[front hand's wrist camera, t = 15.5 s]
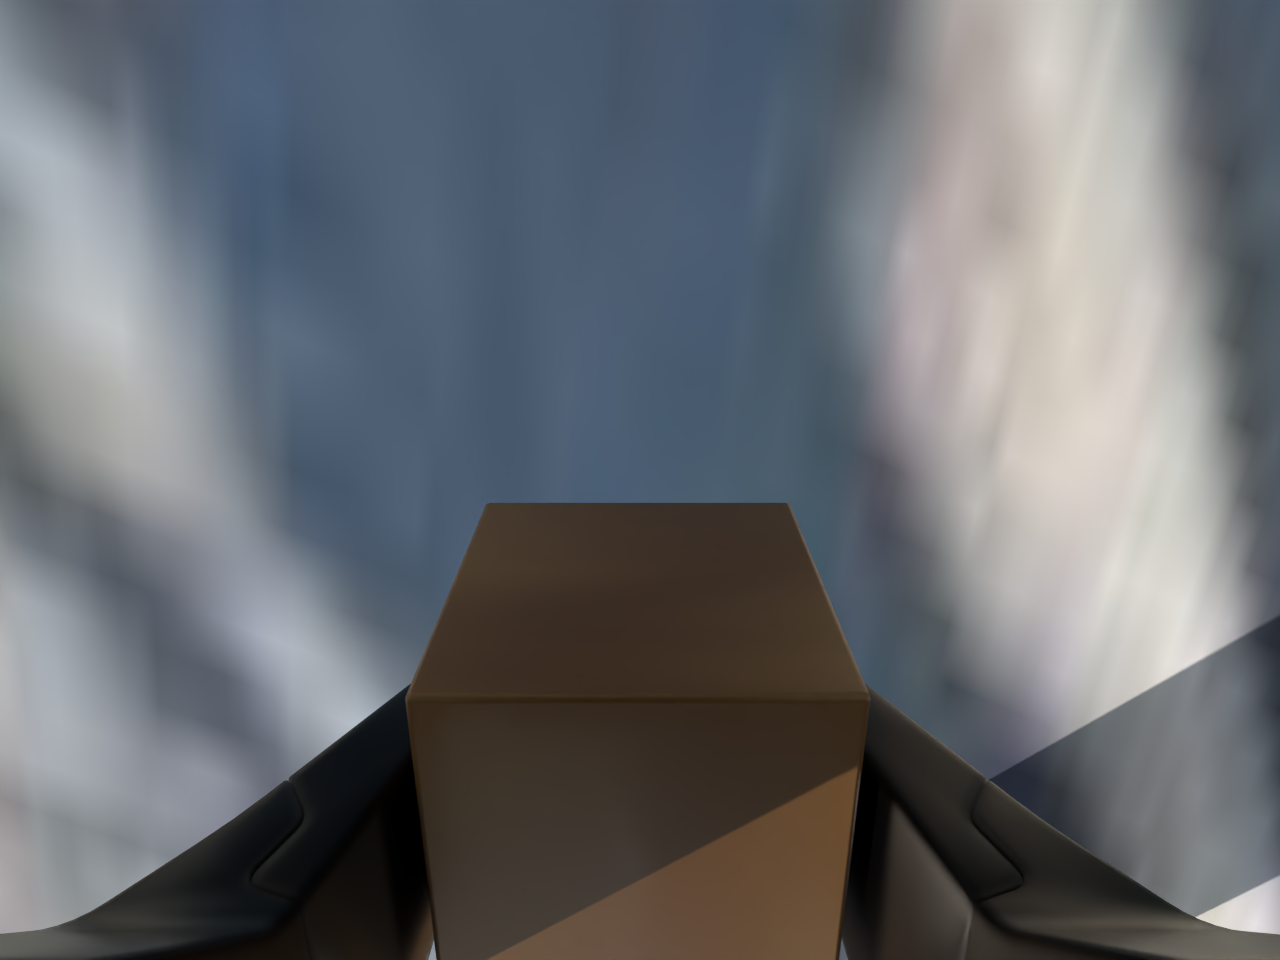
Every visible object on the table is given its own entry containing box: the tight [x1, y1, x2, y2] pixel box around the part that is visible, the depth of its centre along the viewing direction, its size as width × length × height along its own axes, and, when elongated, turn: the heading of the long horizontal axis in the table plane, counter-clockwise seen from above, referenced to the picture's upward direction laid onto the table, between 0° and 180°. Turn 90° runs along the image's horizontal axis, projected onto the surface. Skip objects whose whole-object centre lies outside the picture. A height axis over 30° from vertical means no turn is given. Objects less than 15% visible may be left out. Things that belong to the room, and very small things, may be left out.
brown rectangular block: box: [405, 503, 870, 960], centre depth 11 cm, size 4×4×5 cm
